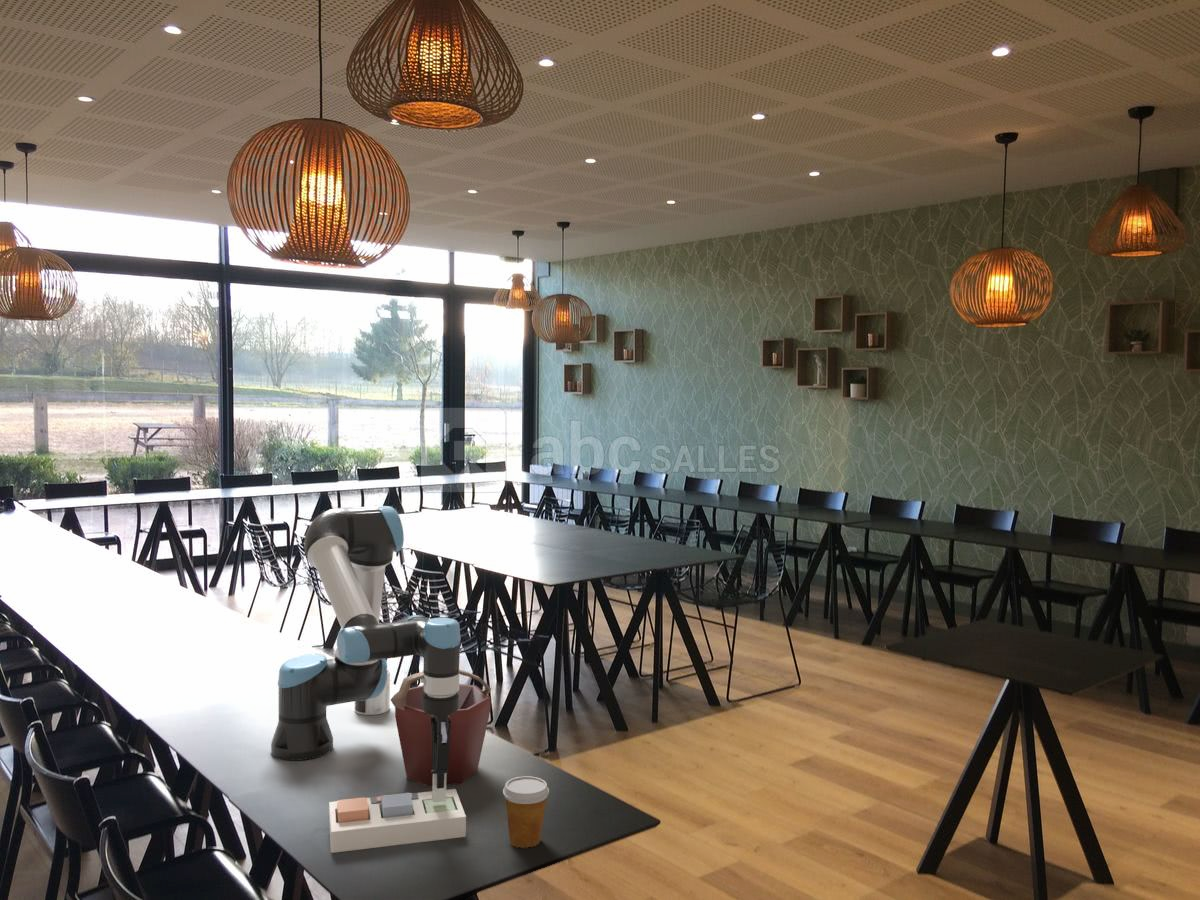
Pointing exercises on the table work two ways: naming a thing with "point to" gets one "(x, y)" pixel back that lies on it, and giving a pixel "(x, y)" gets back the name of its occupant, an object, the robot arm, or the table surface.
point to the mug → (375, 702)
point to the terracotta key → (352, 810)
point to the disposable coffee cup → (525, 809)
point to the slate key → (396, 805)
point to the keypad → (397, 825)
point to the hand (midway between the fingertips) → (439, 800)
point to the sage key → (438, 806)
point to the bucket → (464, 730)
